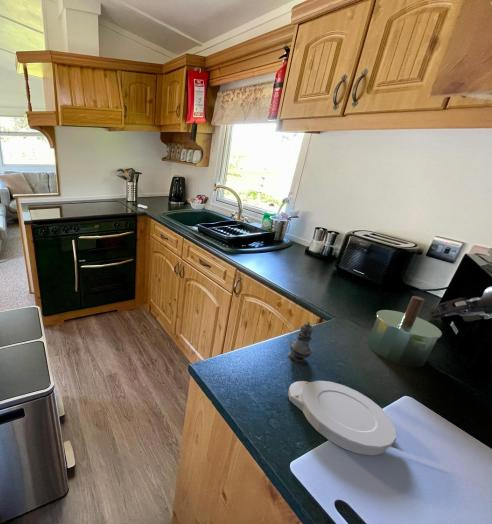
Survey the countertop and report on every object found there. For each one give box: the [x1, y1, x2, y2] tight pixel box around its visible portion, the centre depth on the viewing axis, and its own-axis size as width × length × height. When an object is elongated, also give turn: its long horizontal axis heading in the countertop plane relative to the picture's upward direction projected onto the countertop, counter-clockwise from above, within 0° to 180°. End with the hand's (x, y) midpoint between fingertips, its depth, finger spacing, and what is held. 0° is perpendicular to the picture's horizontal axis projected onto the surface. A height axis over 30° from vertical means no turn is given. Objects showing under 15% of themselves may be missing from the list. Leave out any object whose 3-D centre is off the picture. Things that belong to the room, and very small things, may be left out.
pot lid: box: [375, 295, 443, 339], centre depth 83 cm, size 15×15×9 cm
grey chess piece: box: [287, 321, 314, 365], centre depth 81 cm, size 6×6×12 cm
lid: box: [287, 380, 397, 456], centre depth 64 cm, size 17×20×3 cm
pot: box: [366, 317, 438, 368], centre depth 86 cm, size 14×19×10 cm
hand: (447, 316), depth 74 cm, fingers open, 8 cm apart
